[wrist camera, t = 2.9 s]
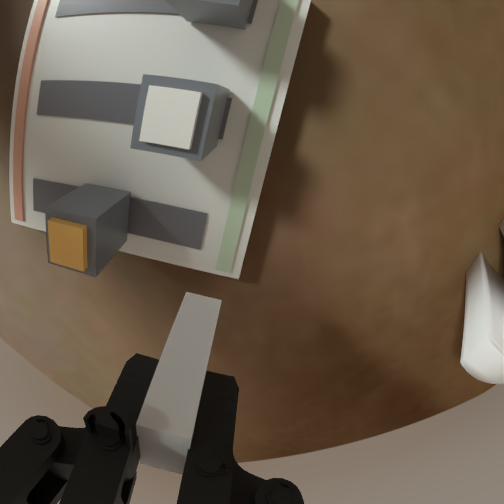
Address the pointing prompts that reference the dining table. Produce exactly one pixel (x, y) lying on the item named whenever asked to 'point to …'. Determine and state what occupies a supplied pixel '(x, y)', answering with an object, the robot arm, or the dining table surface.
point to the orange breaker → (87, 227)
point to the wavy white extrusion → (484, 322)
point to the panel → (114, 140)
